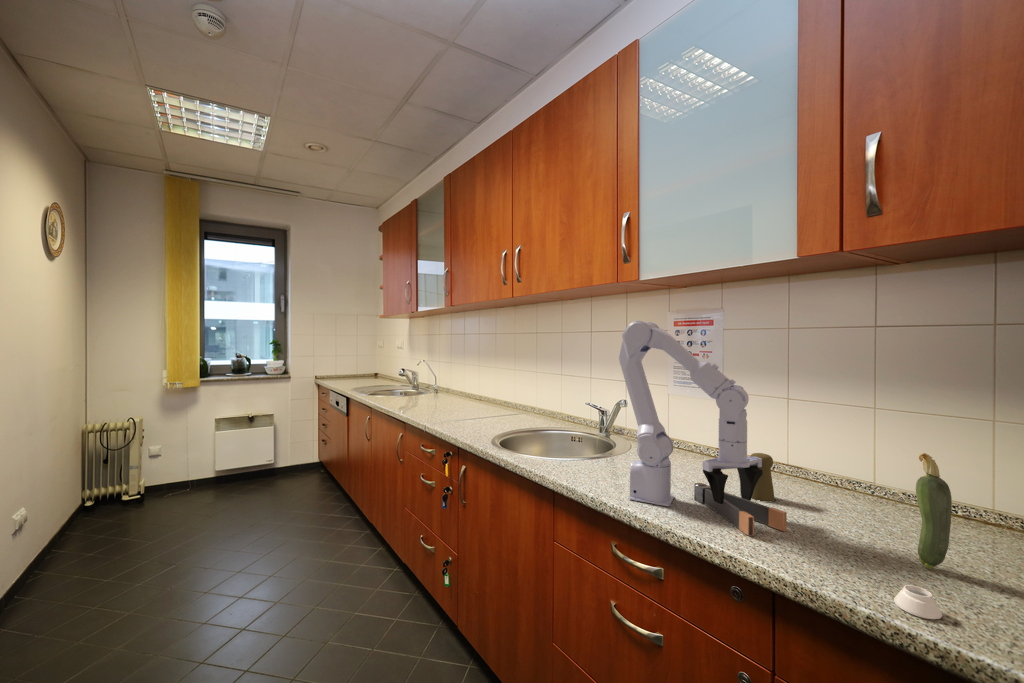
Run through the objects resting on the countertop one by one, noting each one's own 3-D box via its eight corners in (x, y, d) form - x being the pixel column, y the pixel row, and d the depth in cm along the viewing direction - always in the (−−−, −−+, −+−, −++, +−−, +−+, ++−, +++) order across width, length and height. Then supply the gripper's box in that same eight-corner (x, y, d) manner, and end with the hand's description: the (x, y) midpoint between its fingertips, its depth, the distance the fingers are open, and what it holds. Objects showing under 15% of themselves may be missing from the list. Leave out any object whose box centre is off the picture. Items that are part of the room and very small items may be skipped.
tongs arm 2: (710, 503, 104) (710, 488, 104) (713, 502, 104) (713, 487, 104) (783, 531, 89) (783, 513, 89) (786, 530, 89) (786, 512, 89)
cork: (778, 502, 106) (779, 457, 106) (751, 500, 107) (752, 456, 107) (769, 494, 111) (769, 451, 111) (743, 492, 113) (744, 450, 113)
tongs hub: (691, 498, 108) (691, 483, 108) (701, 497, 108) (701, 482, 108) (702, 504, 104) (702, 488, 104) (712, 503, 105) (712, 487, 105)
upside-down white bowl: (889, 607, 64) (936, 626, 60) (889, 587, 64) (936, 605, 60) (900, 597, 67) (945, 614, 62) (901, 577, 67) (946, 593, 62)
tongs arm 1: (703, 504, 104) (704, 488, 104) (708, 503, 104) (708, 488, 104) (747, 535, 87) (748, 517, 87) (753, 535, 87) (753, 516, 87)
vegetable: (949, 570, 74) (950, 453, 74) (952, 580, 71) (953, 458, 71) (914, 561, 77) (915, 449, 77) (915, 570, 74) (916, 453, 74)
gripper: (719, 445, 91) (718, 510, 91) (773, 442, 95) (773, 503, 95) (696, 438, 98) (695, 499, 98) (747, 435, 102) (747, 493, 102)
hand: (732, 500), depth 97 cm, fingers open, 7 cm apart
